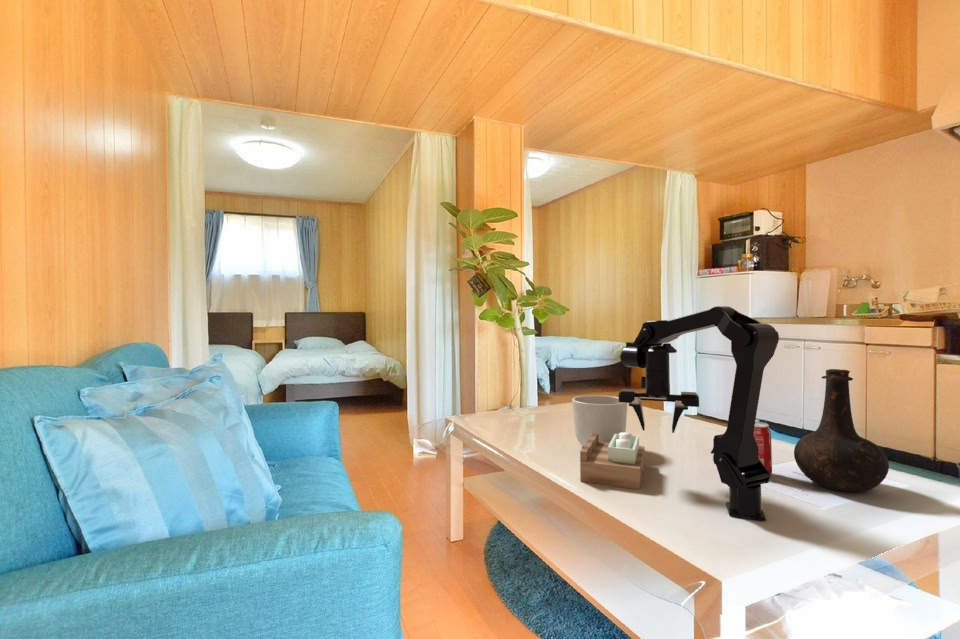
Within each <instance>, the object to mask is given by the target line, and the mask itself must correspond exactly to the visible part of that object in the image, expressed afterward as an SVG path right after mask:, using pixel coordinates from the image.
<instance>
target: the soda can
mask: <svg viewBox="0 0 960 639" xmlns="http://www.w3.org/2000/svg"><path fill="white" fill-rule="evenodd" d="M753 435H754V438H755V441H756V443H757V445H758V459H759V460H760V461H761V462H762V464H763V465H764V466H765V467H766V469H767V470H768V471H769V472H770V474H771V475H772V474H773V456H772V454H773V453H772V449H773V448H772V431H771V429H770V425H769V424H768V423H765V422H761V421H755V426H754V432H753Z"/></svg>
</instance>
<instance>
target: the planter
mask: <svg viewBox="0 0 960 639" xmlns="http://www.w3.org/2000/svg"><path fill="white" fill-rule="evenodd" d="M571 402H572V403H571V404H572V415H573V427H574V429H573V430H574V433H575V437H576V440H577V441H578V442H579V444H580V445H581V446H582V447H584V445H585V444H586V443H587V441H588V440H589V438H590V437H591V435H592V434H593V433H599V442H606V443H610V442H611V440H612V438H613V436H614V434H619V433H621V432H627V416H628V403H623V402H619V396H614V395H613V396H612V395H604V394H603V395H601V394H600V395H597V394H596V395H595V394H593V395H591V394H590V395H577V396H575V397H572V399H571Z"/></svg>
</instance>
